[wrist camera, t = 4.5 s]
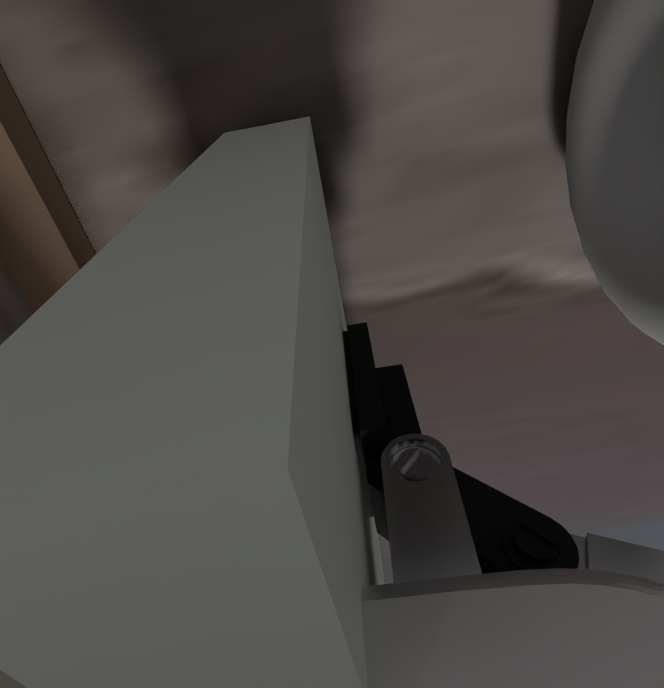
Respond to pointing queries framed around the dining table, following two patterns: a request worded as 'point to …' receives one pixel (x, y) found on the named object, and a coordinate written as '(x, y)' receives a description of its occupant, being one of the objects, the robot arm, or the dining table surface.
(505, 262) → the dining table surface
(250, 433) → the door panel
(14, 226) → the frame
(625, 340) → the dining table surface
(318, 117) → the dining table surface
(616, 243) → the donut
